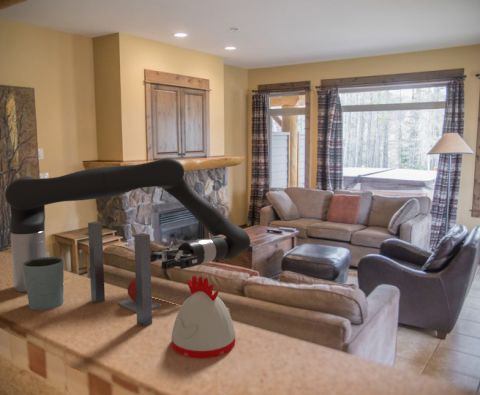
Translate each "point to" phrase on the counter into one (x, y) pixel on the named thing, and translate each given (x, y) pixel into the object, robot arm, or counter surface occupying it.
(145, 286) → the right post
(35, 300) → the teal cup
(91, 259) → the left post
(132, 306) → the mat
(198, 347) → the kitchen timer
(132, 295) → the onion
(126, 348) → the counter surface
